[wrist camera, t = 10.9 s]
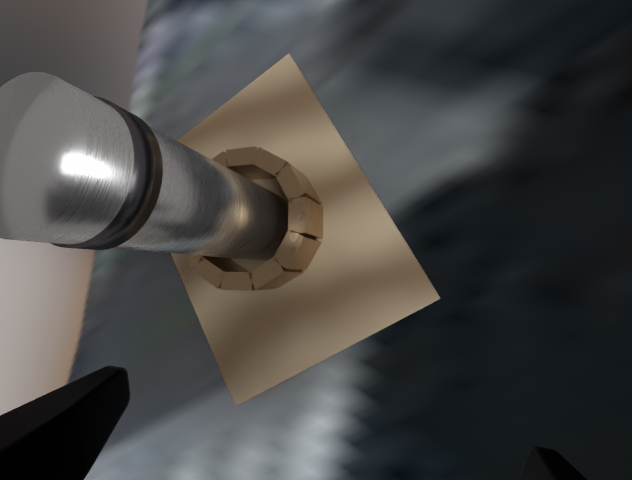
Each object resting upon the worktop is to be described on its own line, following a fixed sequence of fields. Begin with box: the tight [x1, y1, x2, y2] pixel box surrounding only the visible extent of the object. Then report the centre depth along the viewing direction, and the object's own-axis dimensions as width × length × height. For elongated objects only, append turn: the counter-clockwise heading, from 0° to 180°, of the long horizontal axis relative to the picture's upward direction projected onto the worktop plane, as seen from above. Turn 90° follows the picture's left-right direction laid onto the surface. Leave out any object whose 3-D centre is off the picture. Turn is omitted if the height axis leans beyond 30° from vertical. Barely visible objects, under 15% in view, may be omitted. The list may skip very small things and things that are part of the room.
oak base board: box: [171, 54, 440, 406], centre depth 23 cm, size 18×14×2 cm
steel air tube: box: [0, 72, 289, 261], centre depth 16 cm, size 5×5×14 cm
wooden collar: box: [185, 146, 323, 291], centre depth 21 cm, size 8×8×3 cm
